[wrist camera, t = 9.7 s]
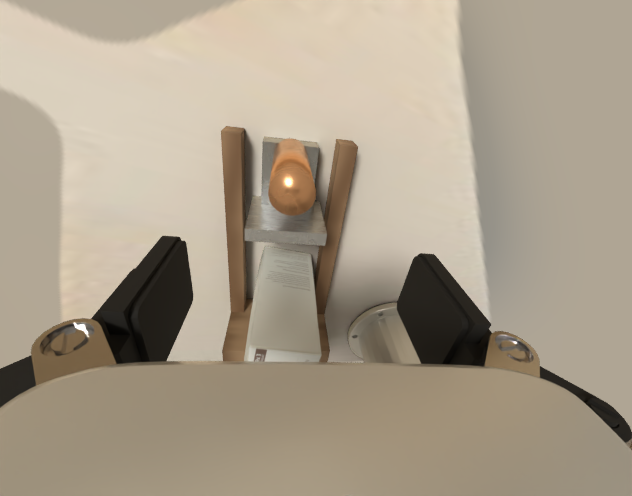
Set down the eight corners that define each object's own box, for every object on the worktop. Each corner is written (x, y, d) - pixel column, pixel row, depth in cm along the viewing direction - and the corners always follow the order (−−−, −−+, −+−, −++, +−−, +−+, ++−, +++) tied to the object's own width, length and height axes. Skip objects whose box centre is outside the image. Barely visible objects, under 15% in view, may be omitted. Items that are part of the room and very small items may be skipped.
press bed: (352, 141, 26) (374, 165, 20) (319, 313, 39) (326, 363, 32) (226, 126, 25) (204, 147, 18) (234, 311, 37) (223, 364, 31)
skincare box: (297, 300, 37) (302, 415, 25) (252, 294, 36) (234, 412, 24) (312, 249, 33) (327, 358, 21) (261, 241, 32) (246, 352, 19)
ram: (328, 138, 26) (350, 176, 17) (317, 211, 30) (331, 273, 21) (253, 129, 25) (234, 165, 16) (253, 206, 29) (237, 269, 20)
